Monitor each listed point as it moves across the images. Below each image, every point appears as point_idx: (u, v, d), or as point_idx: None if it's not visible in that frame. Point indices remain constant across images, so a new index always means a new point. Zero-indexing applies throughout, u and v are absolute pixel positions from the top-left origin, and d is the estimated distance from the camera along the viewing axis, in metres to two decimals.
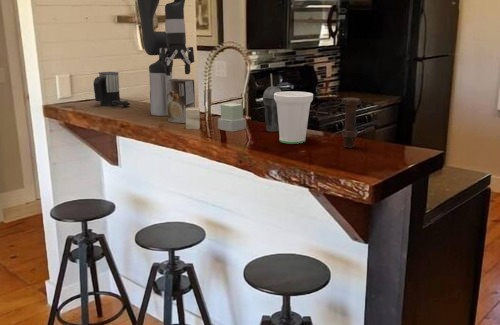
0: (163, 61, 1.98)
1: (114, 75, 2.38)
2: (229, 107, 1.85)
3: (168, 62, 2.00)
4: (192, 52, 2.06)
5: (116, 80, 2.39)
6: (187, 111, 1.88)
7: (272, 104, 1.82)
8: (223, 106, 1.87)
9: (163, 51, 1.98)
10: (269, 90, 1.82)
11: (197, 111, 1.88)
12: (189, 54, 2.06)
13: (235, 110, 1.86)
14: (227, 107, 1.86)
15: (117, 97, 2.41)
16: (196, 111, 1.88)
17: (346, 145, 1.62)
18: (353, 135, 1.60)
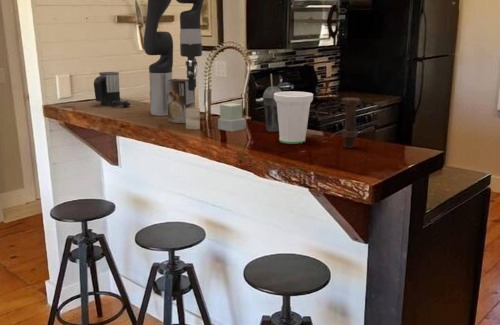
0: (194, 75, 1.81)
1: (114, 75, 2.38)
2: (228, 107, 1.85)
3: (194, 76, 1.83)
4: None
5: (117, 80, 2.39)
6: (187, 111, 1.88)
7: (272, 104, 1.82)
8: (222, 106, 1.87)
9: (194, 64, 1.80)
10: (269, 90, 1.82)
11: (197, 111, 1.88)
12: None
13: (235, 110, 1.86)
14: (226, 107, 1.86)
15: (117, 97, 2.41)
16: (196, 111, 1.88)
17: (346, 145, 1.62)
18: (353, 135, 1.60)
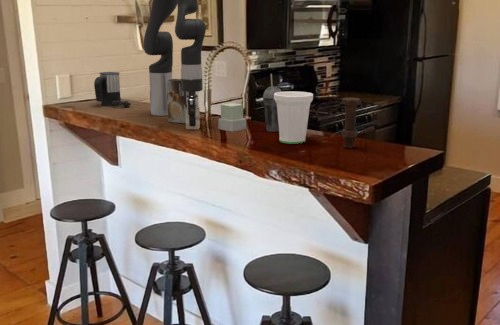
0: (195, 112, 1.85)
1: (115, 75, 2.37)
2: (229, 107, 1.85)
3: (195, 112, 1.87)
4: None
5: (117, 80, 2.39)
6: (187, 111, 1.88)
7: (272, 104, 1.82)
8: (223, 106, 1.87)
9: (194, 102, 1.84)
10: (269, 90, 1.82)
11: (197, 111, 1.88)
12: None
13: (235, 110, 1.86)
14: (227, 107, 1.86)
15: (118, 97, 2.41)
16: (196, 111, 1.88)
17: (346, 145, 1.62)
18: (353, 135, 1.60)
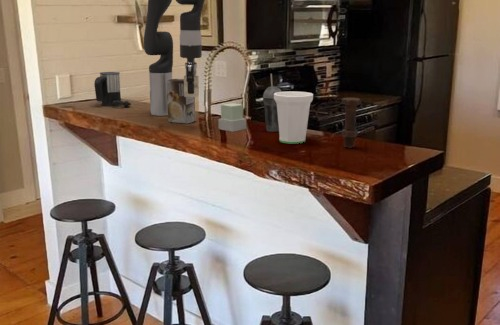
0: (193, 79, 1.83)
1: (115, 75, 2.37)
2: (229, 107, 1.85)
3: None
4: None
5: (117, 80, 2.39)
6: (185, 78, 1.85)
7: (272, 104, 1.82)
8: (223, 106, 1.87)
9: (193, 69, 1.81)
10: (269, 90, 1.82)
11: (196, 78, 1.85)
12: None
13: (236, 110, 1.86)
14: (227, 107, 1.86)
15: (118, 97, 2.41)
16: (195, 78, 1.85)
17: (346, 145, 1.62)
18: (353, 135, 1.60)
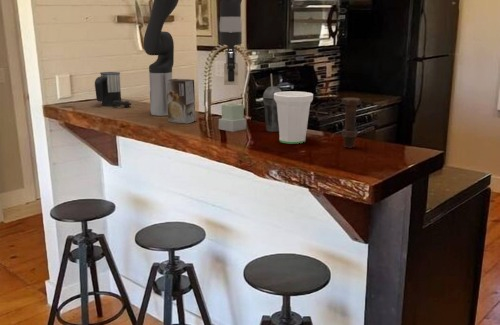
0: (234, 66, 1.80)
1: (115, 75, 2.37)
2: (229, 107, 1.85)
3: None
4: None
5: (118, 80, 2.39)
6: (226, 66, 1.82)
7: (272, 104, 1.82)
8: (224, 106, 1.87)
9: (234, 55, 1.78)
10: (269, 90, 1.82)
11: (236, 66, 1.82)
12: None
13: (236, 110, 1.86)
14: (228, 107, 1.86)
15: (118, 97, 2.41)
16: (235, 66, 1.82)
17: (346, 145, 1.62)
18: (353, 135, 1.60)
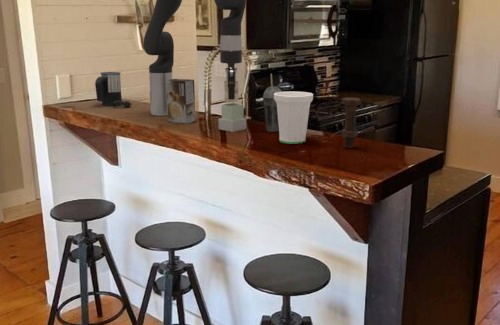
0: None
1: (116, 75, 2.37)
2: (229, 107, 1.85)
3: None
4: None
5: (118, 80, 2.39)
6: (226, 84, 1.84)
7: (272, 104, 1.82)
8: (224, 106, 1.87)
9: (234, 74, 1.79)
10: (269, 90, 1.82)
11: (236, 84, 1.84)
12: None
13: (236, 110, 1.86)
14: (227, 107, 1.86)
15: (119, 97, 2.41)
16: (235, 84, 1.84)
17: (346, 145, 1.62)
18: (353, 135, 1.60)
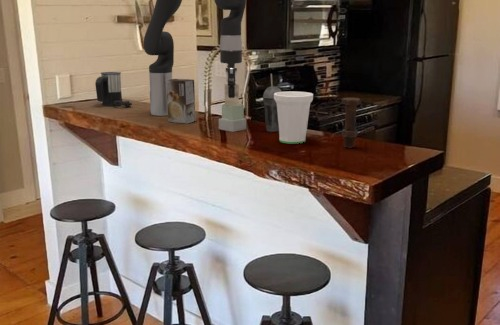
0: None
1: (116, 75, 2.37)
2: (229, 107, 1.85)
3: None
4: None
5: (118, 80, 2.39)
6: (226, 87, 1.84)
7: (272, 104, 1.82)
8: (224, 106, 1.87)
9: (235, 71, 1.79)
10: (269, 90, 1.82)
11: (237, 87, 1.84)
12: None
13: (236, 110, 1.86)
14: (227, 107, 1.86)
15: (119, 97, 2.41)
16: (236, 87, 1.84)
17: (346, 145, 1.62)
18: (353, 135, 1.60)
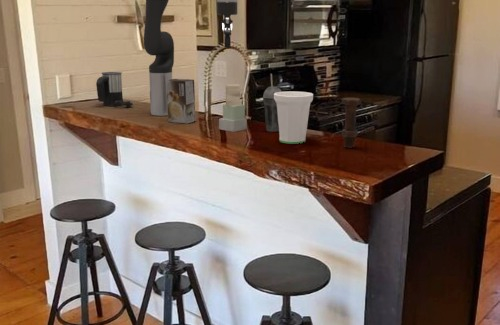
0: (230, 32, 1.89)
1: (117, 75, 2.37)
2: (231, 107, 1.85)
3: None
4: None
5: (119, 80, 2.39)
6: (228, 87, 1.84)
7: (272, 104, 1.82)
8: (225, 106, 1.87)
9: (230, 21, 1.88)
10: (269, 90, 1.82)
11: (238, 87, 1.84)
12: None
13: (237, 110, 1.86)
14: (229, 107, 1.86)
15: (120, 97, 2.41)
16: (237, 87, 1.84)
17: (346, 145, 1.62)
18: (353, 135, 1.60)
